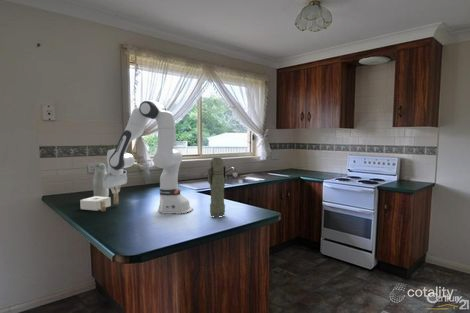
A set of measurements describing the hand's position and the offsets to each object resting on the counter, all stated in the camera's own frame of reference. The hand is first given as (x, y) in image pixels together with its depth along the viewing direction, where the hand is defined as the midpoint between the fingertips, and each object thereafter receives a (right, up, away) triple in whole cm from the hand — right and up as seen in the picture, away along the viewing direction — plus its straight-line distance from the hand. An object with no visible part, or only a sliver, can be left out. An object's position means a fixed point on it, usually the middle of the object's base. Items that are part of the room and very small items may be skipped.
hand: (115, 192), depth 198 cm
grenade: (+71, -12, -23) cm, 75 cm away
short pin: (-4, -11, -11) cm, 15 cm away
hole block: (-13, -10, -2) cm, 16 cm away
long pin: (0, -8, +1) cm, 8 cm away
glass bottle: (-18, -9, +19) cm, 27 cm away
